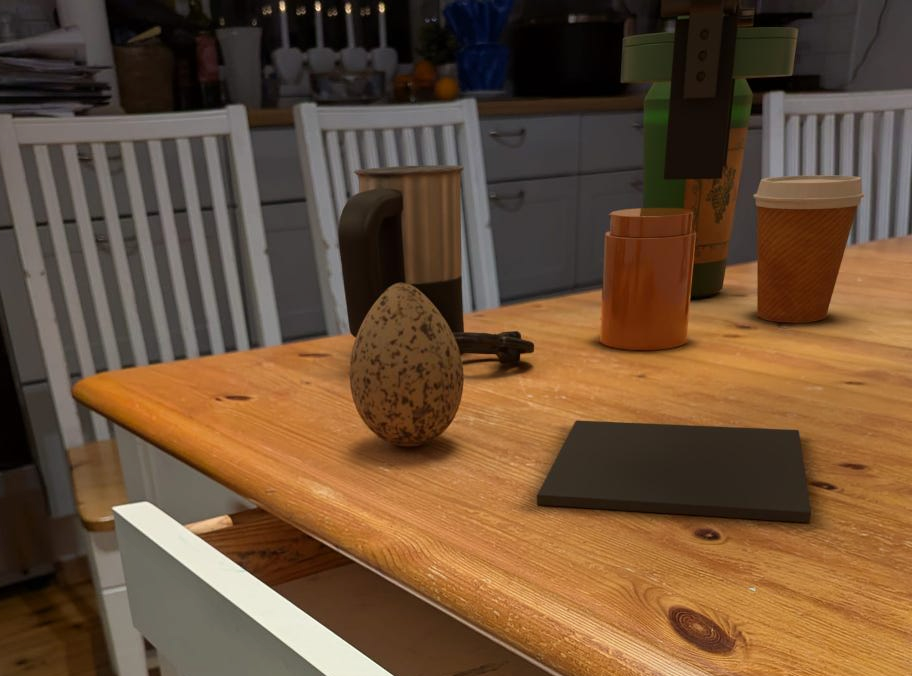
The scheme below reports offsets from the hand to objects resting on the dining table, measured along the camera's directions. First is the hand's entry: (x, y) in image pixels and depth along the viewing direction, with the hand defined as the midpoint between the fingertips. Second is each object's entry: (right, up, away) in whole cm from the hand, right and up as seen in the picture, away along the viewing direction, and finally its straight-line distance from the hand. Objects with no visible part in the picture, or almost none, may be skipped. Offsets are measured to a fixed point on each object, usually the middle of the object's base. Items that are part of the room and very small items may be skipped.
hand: (697, 171), depth 50 cm
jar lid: (0, +5, -3) cm, 6 cm away
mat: (+1, -14, +6) cm, 16 cm away
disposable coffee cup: (+21, +7, +43) cm, 48 cm away
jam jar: (+5, +3, +36) cm, 36 cm away
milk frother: (-12, 0, +34) cm, 36 cm away
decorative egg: (-15, -12, +13) cm, 23 cm away
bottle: (+14, +14, +56) cm, 59 cm away
